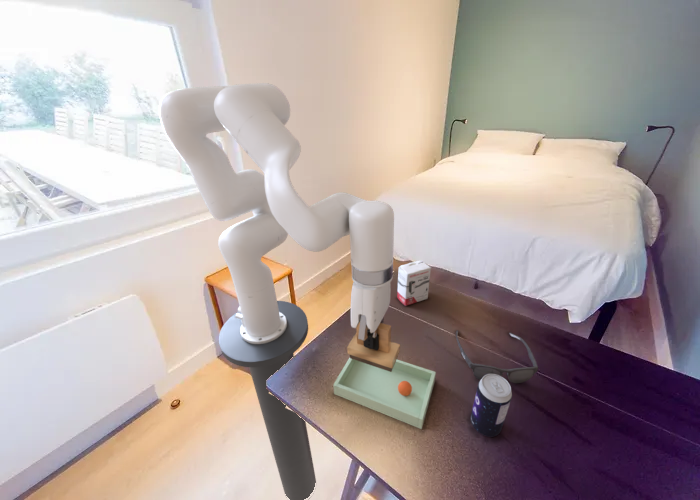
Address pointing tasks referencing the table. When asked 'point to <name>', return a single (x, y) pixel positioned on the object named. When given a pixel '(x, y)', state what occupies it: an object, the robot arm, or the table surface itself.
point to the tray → (387, 389)
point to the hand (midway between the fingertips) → (373, 343)
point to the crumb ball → (404, 388)
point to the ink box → (413, 282)
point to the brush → (379, 358)
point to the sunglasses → (513, 374)
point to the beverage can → (491, 404)
